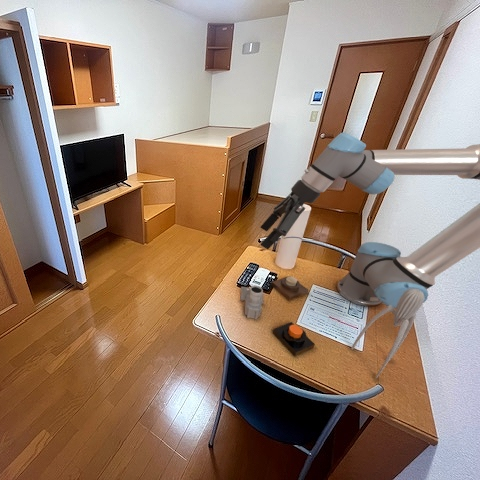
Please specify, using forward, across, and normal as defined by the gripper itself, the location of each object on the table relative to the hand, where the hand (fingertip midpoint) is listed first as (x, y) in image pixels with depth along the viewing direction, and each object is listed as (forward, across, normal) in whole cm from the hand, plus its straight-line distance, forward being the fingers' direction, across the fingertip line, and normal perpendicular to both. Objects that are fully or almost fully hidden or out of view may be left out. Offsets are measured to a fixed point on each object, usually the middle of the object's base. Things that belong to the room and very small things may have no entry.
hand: (263, 237), depth 88 cm
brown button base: (+19, -14, +27) cm, 36 cm away
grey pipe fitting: (+27, -1, +15) cm, 31 cm away
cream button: (+16, -14, +26) cm, 34 cm away
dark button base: (+21, +12, +27) cm, 37 cm away
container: (+19, -34, +27) cm, 47 cm away
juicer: (+10, +13, +49) cm, 51 cm away
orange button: (+18, +13, +26) cm, 34 cm away
